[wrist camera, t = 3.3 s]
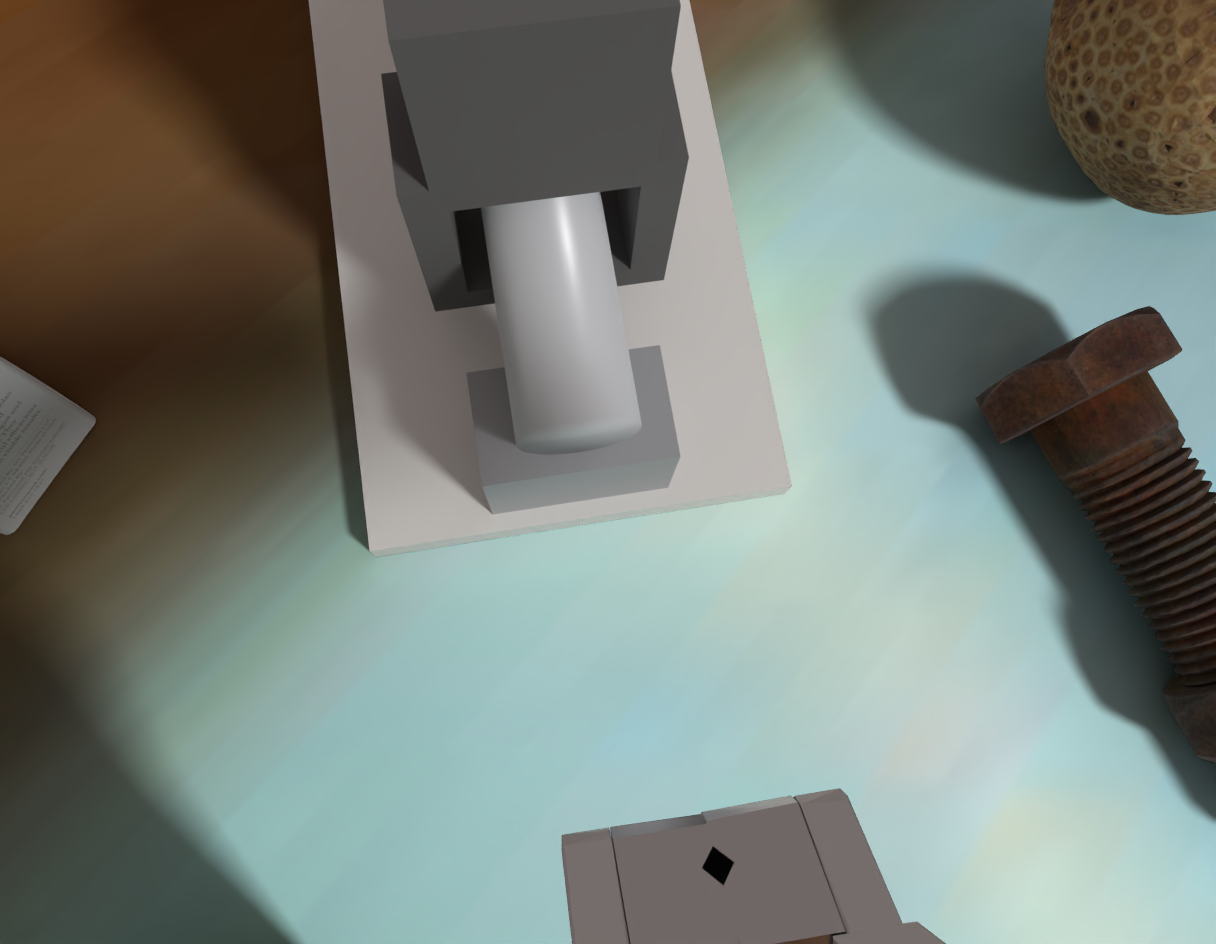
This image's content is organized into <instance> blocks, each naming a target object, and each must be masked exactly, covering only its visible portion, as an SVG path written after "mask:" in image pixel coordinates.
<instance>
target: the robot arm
mask: <svg viewBox="0 0 1216 944" xmlns="http://www.w3.org/2000/svg"><path fill="white" fill-rule="evenodd" d="M610 831H611V834H610ZM562 858H563V867H564V876H565V885H566V893H567V902H568V911H569V920H570V928H571V937H572V944H946V943H944V942H943V941H942V940H940V939H939V938H938V937H936V936H935V935H934V934H933V933H931V932H930V931H929V930H927V929H926V928H925V927H923V926H922V925H921V924H920V923H918V922H909V923H902V921H901V919H900V916H899V914H898V912H897V909H896V907H895V905H894V902H893V900H892V898H891V895H890V893H889V891H888V889H887V886H886V884H885V882H884V879H883V877H882V875H881V872H880V870H879V868H878V865H877V863H876V861H875V858H874V856H873V854H872V851H871V849H870V847H869V844H868V842H867V840H866V838H865V835H864V833H863V831H862V828H861V826H860V824H859V821H858V819H857V817H856V814H855V812H854V810H853V807H852V805H851V803H850V800H849V798H848V796H847V795H846V794H845V793H844V792H843V791H842V790H841V789H840V788H839V789H832V790H827V791H821V792H815V793H809V794H804V795H798V796H794V797H792V796H786V797H780V798H775V799H770V800H764V801H759V802H753V803H748V804H743V805H737V806H732V807H726V808H721V809H716V810H710V811H705V812H701V814H698V815H691V816H684V817H677V818H670V819H663V820H656V821H649V822H642V823H635V824H628V825H621V826H614V827H610V830H609V827H608V828H602V829H596V830H590V831H583V832H577V833H571V834H564V835H562Z"/></svg>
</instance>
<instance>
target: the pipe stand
mask: <svg viewBox="0 0 1216 944" xmlns="http://www.w3.org/2000/svg"><path fill="white" fill-rule="evenodd" d="M680 4H681V9H680V15H679V22H678V29H677V35H676V42H675V49H674V55H673V62H672V69H671V71H672V76H673V81H674V86H675V91H676V96H677V101H678V105H679V110H680V115H681V120H682V125H683V130H684V135H685V140H686V145H687V150H688V155H689V160H688V165H687V169H686V174H685V179H684V184H683V189H682V194H681V199H680V204H679V209H678V213H677V218H676V223H675V228H674V233H673V238H672V243H671V248H670V253H669V257H668V262H667V267H666V272H665V277H664V280H660V281H653V282H646V283H639V284H632V285H624V286H617V283H616V277H615V271H614V266H613V260H612V255H611V249H610V243H609V238H608V232H607V227H606V221H605V215H604V210H603V204H602V199H601V193H600V192H595V193H588V194H580V195H572V196H565V197H557V198H550V199H542V200H534V201H527V202H519V203H512V204H504V205H497V206H489V207H481V212H482V219H483V225H484V232H485V239H486V246H487V252H488V259H489V266H490V273H491V279H492V286H493V293H494V300H495V304H487V305H480V306H473V307H466V308H459V309H451V310H444V311H437V312H435V309H434V306H433V303H432V300H431V297H430V294H429V291H428V288H427V285H426V282H425V279H424V276H423V273H422V270H421V267H420V264H419V261H418V258H417V255H416V252H415V249H414V246H413V243H412V240H411V237H410V234H409V231H408V228H407V225H406V222H405V219H404V216H403V213H402V210H401V207H400V205H399V202H398V199H397V196H396V188H395V180H394V172H393V164H392V156H391V149H390V141H389V133H388V125H387V117H386V109H385V102H384V94H383V86H382V78H381V74H383V73H391V72H397V71H396V67H395V64H394V60H393V56H392V52H391V49H390V45H389V41H388V34H387V27H386V19H385V11H384V4H383V0H309V9H310V18H311V27H312V36H313V45H314V54H315V63H316V73H317V82H318V91H319V100H320V109H321V118H322V127H323V136H324V145H325V154H326V163H327V172H328V181H329V190H330V199H331V208H332V217H333V226H334V235H335V244H336V253H337V262H338V271H339V280H340V289H341V298H342V307H343V316H344V325H345V334H346V343H347V352H348V361H349V370H350V379H351V388H352V397H353V406H354V415H355V424H356V433H357V442H358V451H359V460H360V469H361V478H362V488H363V497H364V506H365V515H366V524H367V533H368V542H369V551H370V552H371V553H372V554H373V555H375V556H376V557H380V556H386V555H392V554H399V553H405V552H412V551H418V550H425V549H431V548H438V547H444V546H451V545H457V544H463V543H470V542H476V541H483V540H489V539H496V538H502V537H509V536H515V535H522V534H528V533H534V532H541V531H547V530H554V529H560V528H567V527H573V526H580V525H586V524H592V523H599V522H605V521H612V520H618V519H625V518H631V517H638V516H644V515H651V514H657V513H663V512H670V511H676V510H683V509H689V508H696V507H702V506H709V505H715V504H722V503H728V502H734V501H741V500H747V499H754V498H760V497H767V496H773V495H780V494H785V493H786V492H787V491H788V490H789V488H790V487H791V486H792V485H791V481H790V476H789V471H788V466H787V462H786V457H785V452H784V447H783V443H782V438H781V433H780V428H779V424H778V419H777V414H776V409H775V405H774V400H773V395H772V390H771V386H770V381H769V376H768V371H767V367H766V362H765V357H764V352H763V348H762V343H761V338H760V333H759V329H758V324H757V319H756V315H755V310H754V305H753V300H752V296H751V291H750V286H749V281H748V277H747V272H746V267H745V262H744V258H743V253H742V248H741V243H740V239H739V234H738V229H737V224H736V220H735V215H734V210H733V205H732V201H731V196H730V191H729V186H728V182H727V177H726V172H725V168H724V163H723V158H722V153H721V149H720V144H719V139H718V134H717V130H716V125H715V120H714V115H713V111H712V106H711V101H710V96H709V92H708V87H707V82H706V77H705V73H704V68H703V63H702V58H701V54H700V49H699V44H698V39H697V35H696V30H695V25H694V21H693V16H692V11H691V6H690V2H689V0H680Z"/></svg>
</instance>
